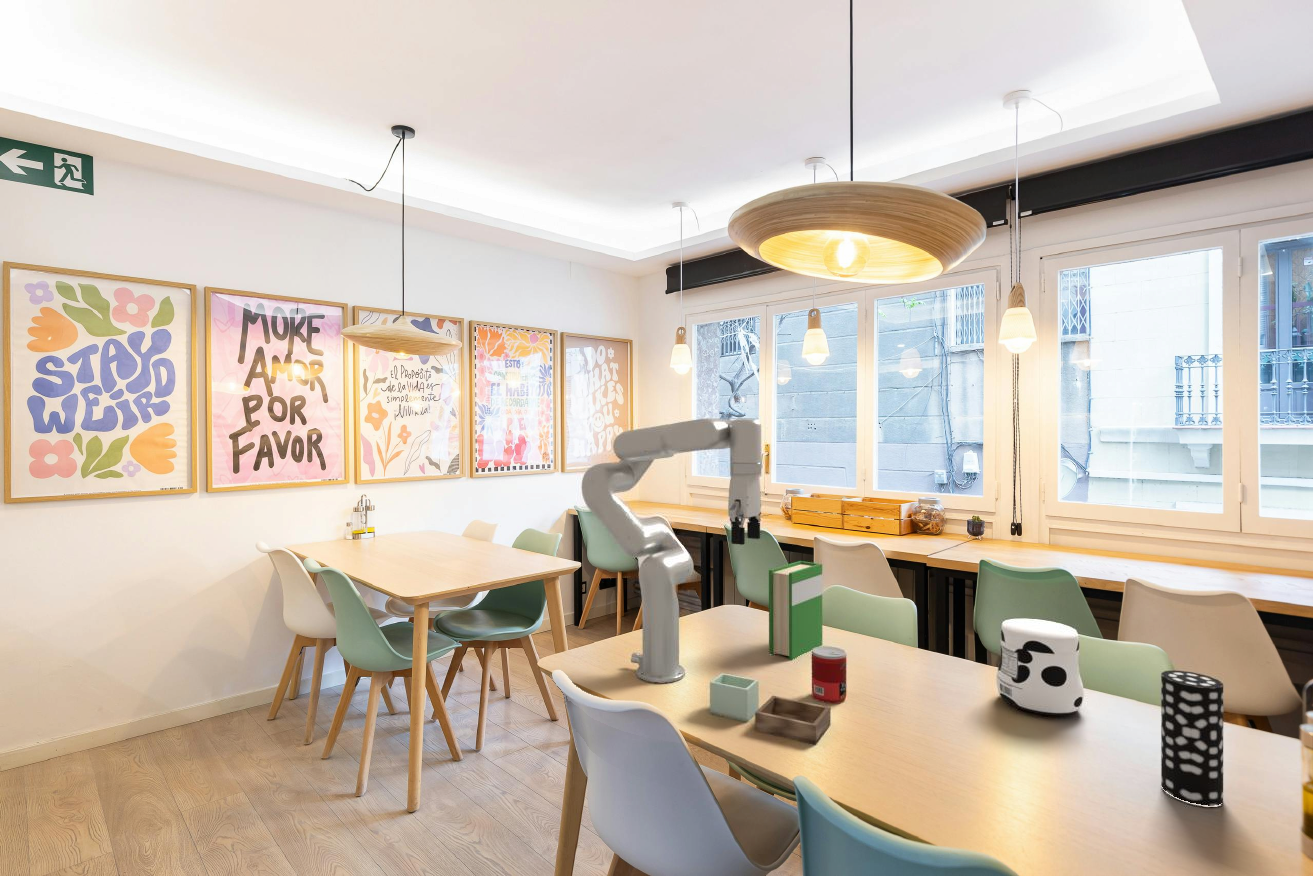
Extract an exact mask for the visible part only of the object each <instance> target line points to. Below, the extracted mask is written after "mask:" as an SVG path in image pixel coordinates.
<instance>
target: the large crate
mask: <svg viewBox="0 0 1313 876" xmlns="http://www.w3.org/2000/svg"><path fill="white" fill-rule="evenodd" d="M754 723H755V724H754V728H755V729H754V730H755V731H756V732H761V733H763V734H764V733H765V734H768V735H772V736H776V737H777V736H778V737H782V738H786V739H790V740H792V741H798V742H802V743H807V744H810V745H816V746H817V744H818V743H819V741H821V739H822V737H823V736H824V735H825V733H826V732H827V730H829V728H830V727H831V723H832V722H831V706H825V705H821V704H816V703H811V702H808V701H807V702H805V701H801V700H797V699H792V698H787V697H781V696H777V695H772V696H770V697H769V698H768V700H767V701H765V702H764V703H763V704H762V706H759V709H758V710H757V711H756V712H755V715H754Z"/></svg>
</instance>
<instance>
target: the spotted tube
mask: <svg viewBox="0 0 1313 876" xmlns="http://www.w3.org/2000/svg"><path fill="white" fill-rule="evenodd" d="M1160 679H1161V680H1160V681H1161V682H1160V683H1161V689H1160V692H1161V696H1160V698H1161V700H1160V702H1161V704H1160V706H1161V707H1160V709H1161V710H1160V712H1161V714H1160V715H1161V717H1160V718H1161V719H1160V721H1161V725H1160V730H1161V731H1160V733H1161V736H1160V739H1161V743H1160V746H1161V748H1160V750H1161V751H1160V754H1161V758H1160V761H1161V762H1160V765H1161V766H1160V771H1161V772H1160V775H1161V776H1160V782H1161V784H1160V785H1161V786H1162V787H1163V789H1164V790H1165V791H1167V792H1168V793H1169V794H1171V795H1173V796H1174V797H1177V798H1179V799H1181V800H1184V801H1188V802H1190V803H1196V804H1201V805H1208V806H1214V805H1219V804H1221V803H1223V804H1224V683H1223V682H1222V681H1220V680H1219V679H1218V678H1217V679H1216V678H1215V677H1212V676H1209V675H1205V674H1202V673H1197V672H1191V671H1184V670H1177V669H1176V670H1165V671H1162V672H1161V675H1160Z"/></svg>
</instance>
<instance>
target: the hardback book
mask: <svg viewBox="0 0 1313 876" xmlns="http://www.w3.org/2000/svg"><path fill="white" fill-rule="evenodd" d="M820 646H823V563H819V562H818V563H817V562H811V561H810V562H809V561H804V560H803V561H802V560H799V561H795V562H792V563H789V564H788V563H787V564H785V565H781V566H778V567H775V568H771V569H768V655H769V654H773V655H775V654H774V653H776V654H778V655H781V656H782V655H783V656H787V657H788V659H790V661H794V660H795V658H796V659H797V657H798V656H800V655H802V654H804V653H806V654H807V652H808V653H809V651H810V652H812V651H811V650H812V649H813V648H815V647H820ZM804 655H805V654H804ZM802 656H803V655H802ZM800 657H801V656H800ZM798 658H799V657H798ZM793 659H794V660H793Z"/></svg>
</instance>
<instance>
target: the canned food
mask: <svg viewBox="0 0 1313 876" xmlns="http://www.w3.org/2000/svg"><path fill="white" fill-rule="evenodd" d="M811 694H812V697H813V698H814V700H817V701H818V702H822V703H826V704H839V703H840V702H841V703H843V702H845V700H846V697H847V652H846V651H845V649H841V648H839V647H835V646H829V645H826V646H825V645H824V646H823V645H821V646H819V647H815V648H813V649H812V651H811Z"/></svg>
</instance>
